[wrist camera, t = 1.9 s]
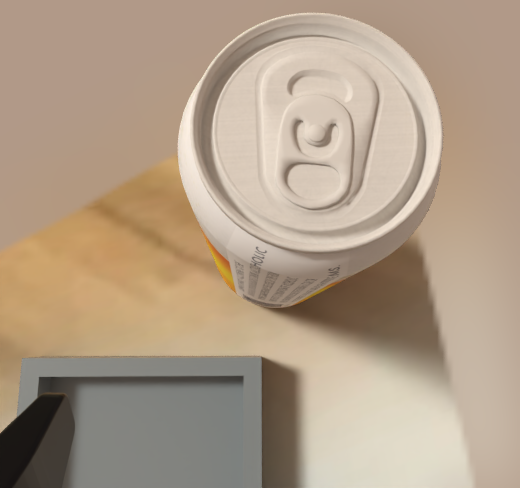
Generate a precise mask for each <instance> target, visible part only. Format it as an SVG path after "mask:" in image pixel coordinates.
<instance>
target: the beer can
mask: <svg viewBox="0 0 520 488" xmlns="http://www.w3.org/2000/svg"><path fill="white" fill-rule="evenodd" d="M442 149H443V126H442V118H441V113H440V108H439V104H438V101H437V98H436V96H435V93H434V90H433V88H432V86H431V84H430V82H429V80H428V78H427V77H426V75H425V74H424V72H423V70H422V69H421V67H420V66H419V65H418V64H417V63H416V61H415V60H414V59H413V57H412V56H411V55H410V54H409V53H408V52H407V51H406V50H405V49H404V48H403V47H402V46H400V45H399V44H398V43H397V42H395V41H394V40H393V39H392V38H390V37H389V36H387V35H385V34H384V33H383V32H381V31H379V30H377V29H375V28H373V27H371V26H369V25H367V24H365V23H362V22H360V21H357V20H355V19H351V18H347V17H344V16H339V15H333V14H327V13H298V14H292V15H286V16H282V17H278V18H274V19H271V20H268V21H266V22H263V23H260V24H258V25H256V26H254V27H252V28H250V29H249V30H247V31H245V32H244V33H242V34H241V35H239V36H238V37H236V38H235V39H234V40H233V41H231V42H230V43H229V44H228V45H227V46H226V47H225V48H224V49H223V50H222V51H221V52H220V53H219V54H218V55H217V56H216V57H215V59H214V60H213V61H212V63H211V64H210V66H209V67H208V68H207V71H206V72H205V74H204V76H203V77H202V79H201V80H200V82H199V83H198V84H197V86H196V87H195V89H194V91H193V93H192V95H191V96H190V98H189V100H188V103H187V105H186V108H185V110H184V113H183V117H182V121H181V124H180V130H179V137H178V161H179V170H180V174H181V178H182V183H183V186H184V189H185V191H186V194H187V197H188V199H189V202H190V204H191V206H192V209H193V211H194V214H195V216H196V218H197V221H198V223H199V225H200V228H201V230H202V232H203V235H204V237H205V239H206V242H207V244H208V246H209V249H210V251H211V253H212V256H213V258H214V260H215V263H216V265H217V267H218V270H219V272H220V274H221V276H222V278H223V279H224V281H225V282H226V284H227V285H228V286H229V287H230V288H231V289H232V290H233V291H234V292H235V293H236V294H237V295H239V296H240V297H242V298H243V299H245V300H247V301H249V302H251V303H253V304H256V305H259V306H263V307H270V308H281V307H288V306H292V305H296V304H299V303H301V302H303V301H305V300H307V299H309V298H311V297H313V296H315V295H316V294H318V293H320V292H322V291H324V290H326V289H328V288H330V287H332V286H334V285H336V284H337V283H339V282H341V281H343V280H345V279H347V278H349V277H351V276H353V275H355V274H357V273H358V272H360V271H362V270H364V269H366V268H368V267H370V266H372V265H374V264H376V263H377V262H379V261H381V260H382V259H384V258H386V257H387V256H389V255H390V254H391V253H393V252H394V251H395V250H397V249H398V248H399V247H400V246H401V245H402V244H403V243H404V242H405V241H406V240H407V239H408V238H409V237H410V236H411V235H412V234H413V233H414V232H415V230H416V229H417V228H418V226H419V225H420V224H421V222H422V220H423V219H424V217H425V215H426V214H427V212H428V210H429V208H430V205H431V203H432V201H433V198H434V196H435V192H436V189H437V185H438V181H439V175H440V168H441V155H442Z"/></svg>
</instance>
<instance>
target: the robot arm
mask: <svg viewBox="0 0 520 488" xmlns="http://www.w3.org/2000/svg"><path fill="white" fill-rule="evenodd" d="M74 433H75V420H74V416H73V412H72V409H71V405H70V401H69V398H68V396H67V395H66V394H65V393H43V394H41V395H40V396H39V397H37V398H36V399H35V400H34V401H33V402H32V403H31V404H30V405H29V406H28V407H27V408H26V409H25V410H24V411H23V412H22V413H21V414H20V415H19V416H18V417H17V418H16V419H15V420H14V421H12V422H11V423H10V424H9V425H8V426H7V427H6V428H5V429H4V430H3V431H2V432H1V433H0V488H62V485H63V481H64V477H65V472H66V468H67V464H68V459H69V455H70V451H71V447H72V442H73V438H74Z"/></svg>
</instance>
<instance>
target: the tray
mask: <svg viewBox="0 0 520 488" xmlns="http://www.w3.org/2000/svg"><path fill="white" fill-rule="evenodd" d="M43 393H65V394H66V395H67V396H68V398H69V401H70V405H71V409H72V412H73V416H74V420H75V433H74V438H73V442H72V447H71V451H70V455H69V459H68V464H67V468H66V472H65V477H64V481H63V485H62V488H262V360H261V356H104V357H31V358H22V366H21V376H20V387H19V398H18V409H17V417H18V416H19V415H20V414H21V413H22V412H23V411H24V410H25V409H26V408H27V407H28V406H29V405H30V404H31V403H32V402H33V401H34V400H35V399H36V398H37V397H39V396H40V395H41V394H43Z"/></svg>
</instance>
